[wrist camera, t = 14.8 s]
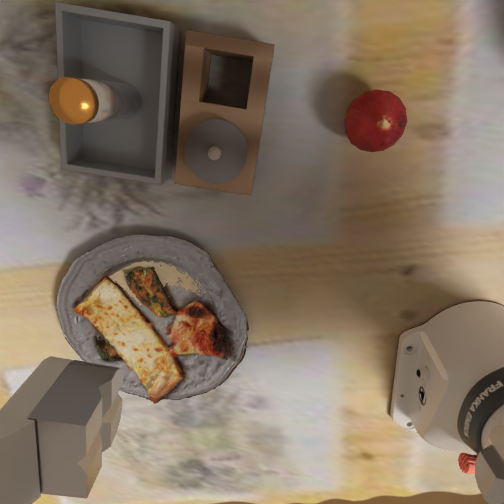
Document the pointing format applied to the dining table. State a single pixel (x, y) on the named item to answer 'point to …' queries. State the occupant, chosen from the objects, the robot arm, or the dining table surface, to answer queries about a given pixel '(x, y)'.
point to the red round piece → (375, 120)
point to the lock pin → (93, 100)
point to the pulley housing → (220, 117)
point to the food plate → (153, 318)
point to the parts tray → (123, 71)
